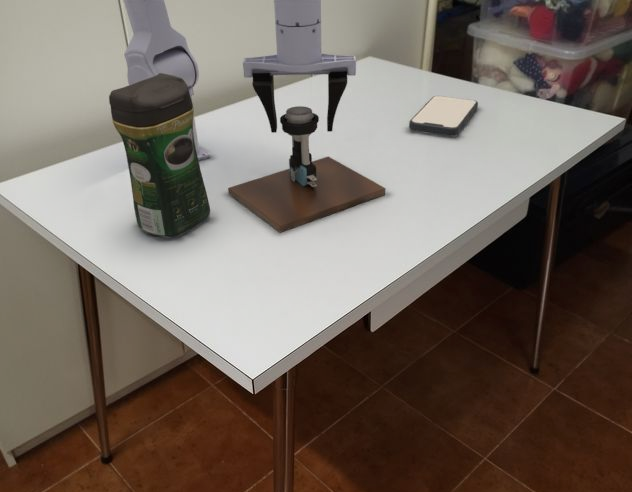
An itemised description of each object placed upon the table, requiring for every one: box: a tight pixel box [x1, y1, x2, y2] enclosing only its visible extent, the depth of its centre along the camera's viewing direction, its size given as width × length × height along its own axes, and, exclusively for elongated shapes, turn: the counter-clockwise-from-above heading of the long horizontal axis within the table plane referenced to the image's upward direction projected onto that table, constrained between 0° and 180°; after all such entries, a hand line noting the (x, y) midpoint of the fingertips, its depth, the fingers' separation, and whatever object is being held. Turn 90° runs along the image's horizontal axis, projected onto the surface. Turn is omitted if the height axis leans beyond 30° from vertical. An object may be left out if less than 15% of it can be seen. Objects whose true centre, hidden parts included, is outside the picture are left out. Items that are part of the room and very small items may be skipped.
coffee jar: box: [108, 73, 211, 239], centre depth 79 cm, size 10×8×19 cm
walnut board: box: [227, 156, 386, 233], centre depth 90 cm, size 18×14×1 cm
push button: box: [279, 105, 320, 187], centre depth 88 cm, size 7×5×10 cm
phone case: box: [408, 95, 479, 137], centre depth 111 cm, size 9×2×16 cm
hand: (302, 129), depth 86 cm, fingers open, 7 cm apart
